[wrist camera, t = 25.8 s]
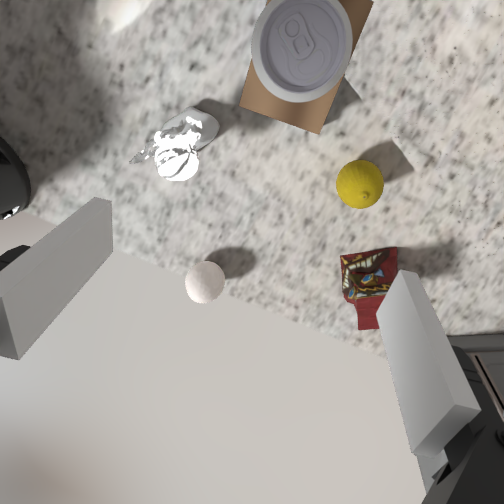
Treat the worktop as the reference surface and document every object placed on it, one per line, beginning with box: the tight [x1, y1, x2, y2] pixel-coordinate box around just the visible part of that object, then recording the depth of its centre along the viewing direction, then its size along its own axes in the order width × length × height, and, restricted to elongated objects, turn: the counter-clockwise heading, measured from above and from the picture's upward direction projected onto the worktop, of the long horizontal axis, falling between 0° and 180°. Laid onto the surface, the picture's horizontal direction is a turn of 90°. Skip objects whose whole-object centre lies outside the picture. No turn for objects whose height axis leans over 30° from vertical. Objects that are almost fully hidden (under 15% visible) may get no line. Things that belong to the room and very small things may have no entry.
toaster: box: [414, 334, 504, 494], centre depth 57 cm, size 17×31×19 cm, turn 12°
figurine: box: [129, 107, 219, 181], centre depth 41 cm, size 9×6×12 cm
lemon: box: [336, 160, 384, 209], centre depth 43 cm, size 6×6×8 cm
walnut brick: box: [239, 0, 374, 135], centre depth 35 cm, size 9×12×5 cm
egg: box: [185, 261, 225, 303], centre depth 54 cm, size 6×6×8 cm
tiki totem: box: [340, 247, 398, 330], centre depth 50 cm, size 9×9×9 cm
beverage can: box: [251, 0, 353, 102], centre depth 28 cm, size 7×7×12 cm
